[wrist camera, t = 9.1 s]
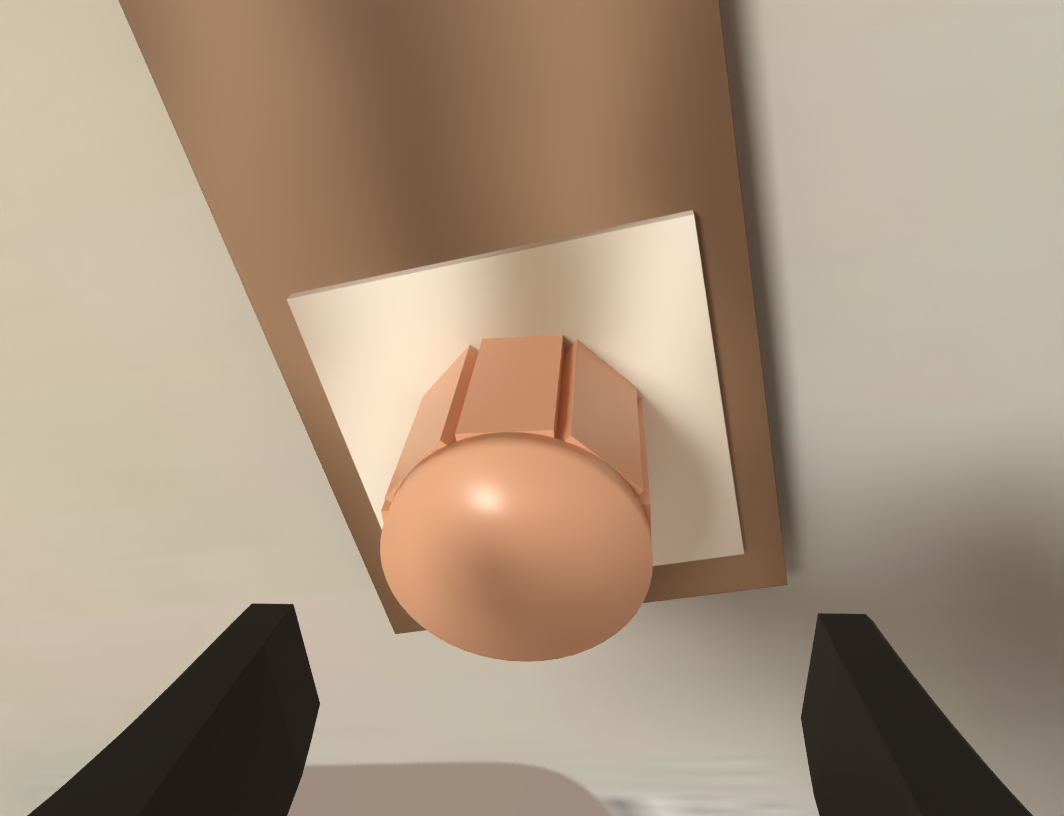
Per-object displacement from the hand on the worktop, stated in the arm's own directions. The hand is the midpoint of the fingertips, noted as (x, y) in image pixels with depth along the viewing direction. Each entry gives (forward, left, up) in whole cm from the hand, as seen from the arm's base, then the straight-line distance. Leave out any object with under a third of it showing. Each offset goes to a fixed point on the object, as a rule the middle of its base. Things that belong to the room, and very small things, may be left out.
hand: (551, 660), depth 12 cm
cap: (+1, +1, -9) cm, 9 cm away
